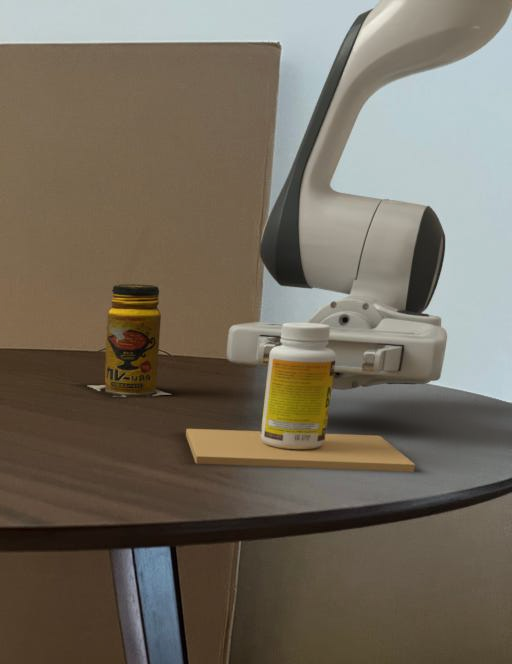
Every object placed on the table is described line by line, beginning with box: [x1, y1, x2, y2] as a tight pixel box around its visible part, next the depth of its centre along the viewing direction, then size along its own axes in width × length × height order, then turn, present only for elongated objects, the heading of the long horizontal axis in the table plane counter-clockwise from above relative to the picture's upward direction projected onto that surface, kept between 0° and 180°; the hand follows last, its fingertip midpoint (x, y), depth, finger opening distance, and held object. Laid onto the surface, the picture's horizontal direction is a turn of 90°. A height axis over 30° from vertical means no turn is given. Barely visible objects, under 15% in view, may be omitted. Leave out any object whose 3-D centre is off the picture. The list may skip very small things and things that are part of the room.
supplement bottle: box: [260, 322, 336, 450], centre depth 89 cm, size 6×6×10 cm
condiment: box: [88, 283, 172, 398], centre depth 119 cm, size 7×8×12 cm
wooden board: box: [185, 428, 416, 473], centre depth 91 cm, size 18×12×1 cm, turn 86°
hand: (317, 357), depth 93 cm, fingers open, 8 cm apart
